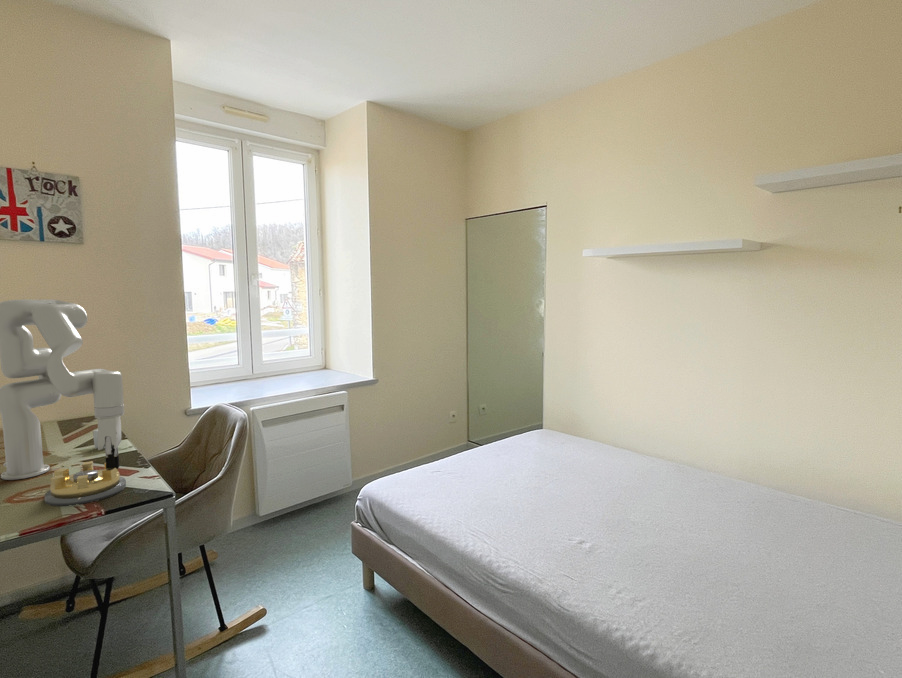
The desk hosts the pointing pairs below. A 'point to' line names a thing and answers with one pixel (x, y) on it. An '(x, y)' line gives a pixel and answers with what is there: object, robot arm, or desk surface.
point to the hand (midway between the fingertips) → (112, 468)
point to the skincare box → (96, 438)
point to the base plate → (85, 499)
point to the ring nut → (83, 481)
